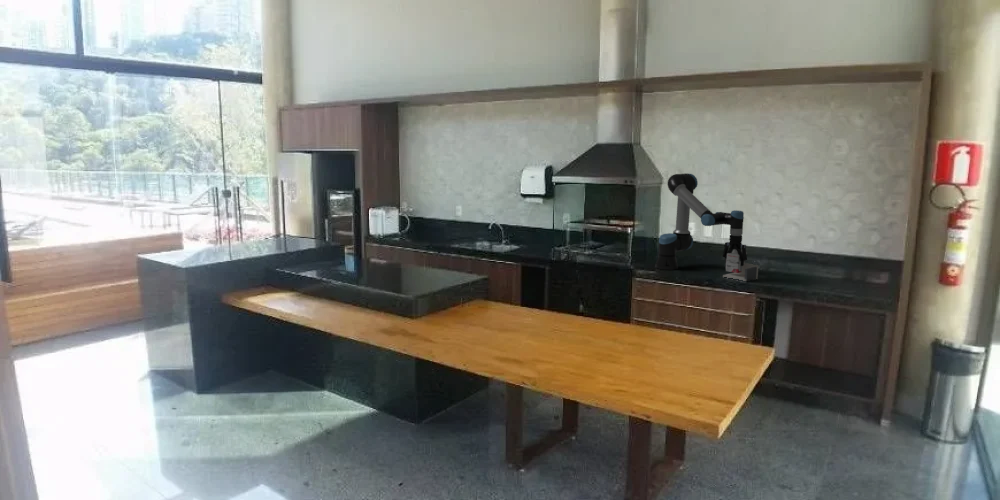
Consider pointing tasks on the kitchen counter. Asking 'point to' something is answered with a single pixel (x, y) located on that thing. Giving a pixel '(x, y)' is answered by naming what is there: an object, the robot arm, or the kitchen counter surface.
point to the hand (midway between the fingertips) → (733, 269)
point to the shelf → (745, 273)
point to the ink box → (733, 262)
